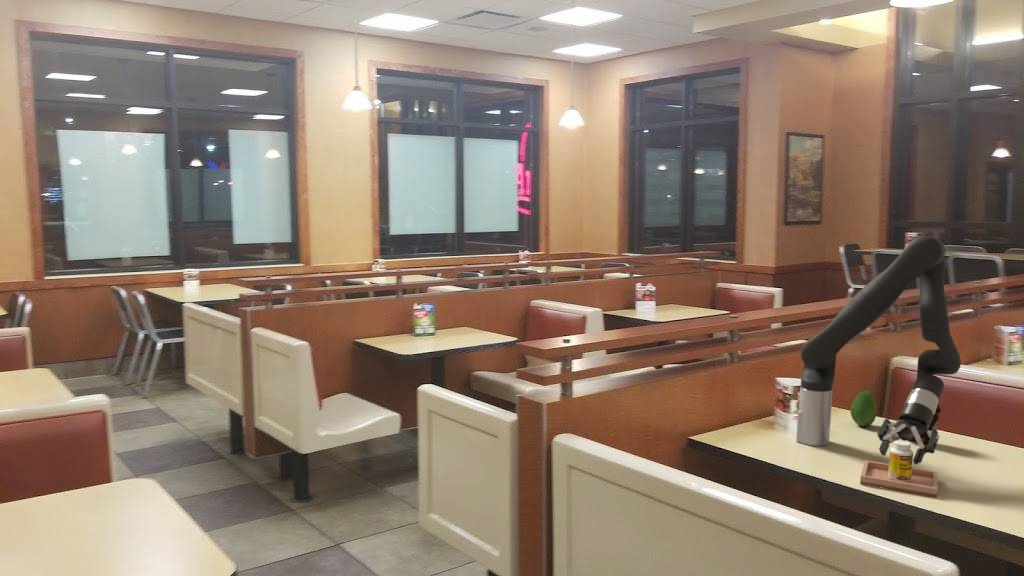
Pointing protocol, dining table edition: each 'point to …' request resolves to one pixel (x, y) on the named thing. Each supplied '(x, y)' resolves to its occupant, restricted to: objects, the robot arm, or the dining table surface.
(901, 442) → the supplement bottle
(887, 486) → the tray
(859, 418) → the avocado
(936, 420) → the coffee cup
